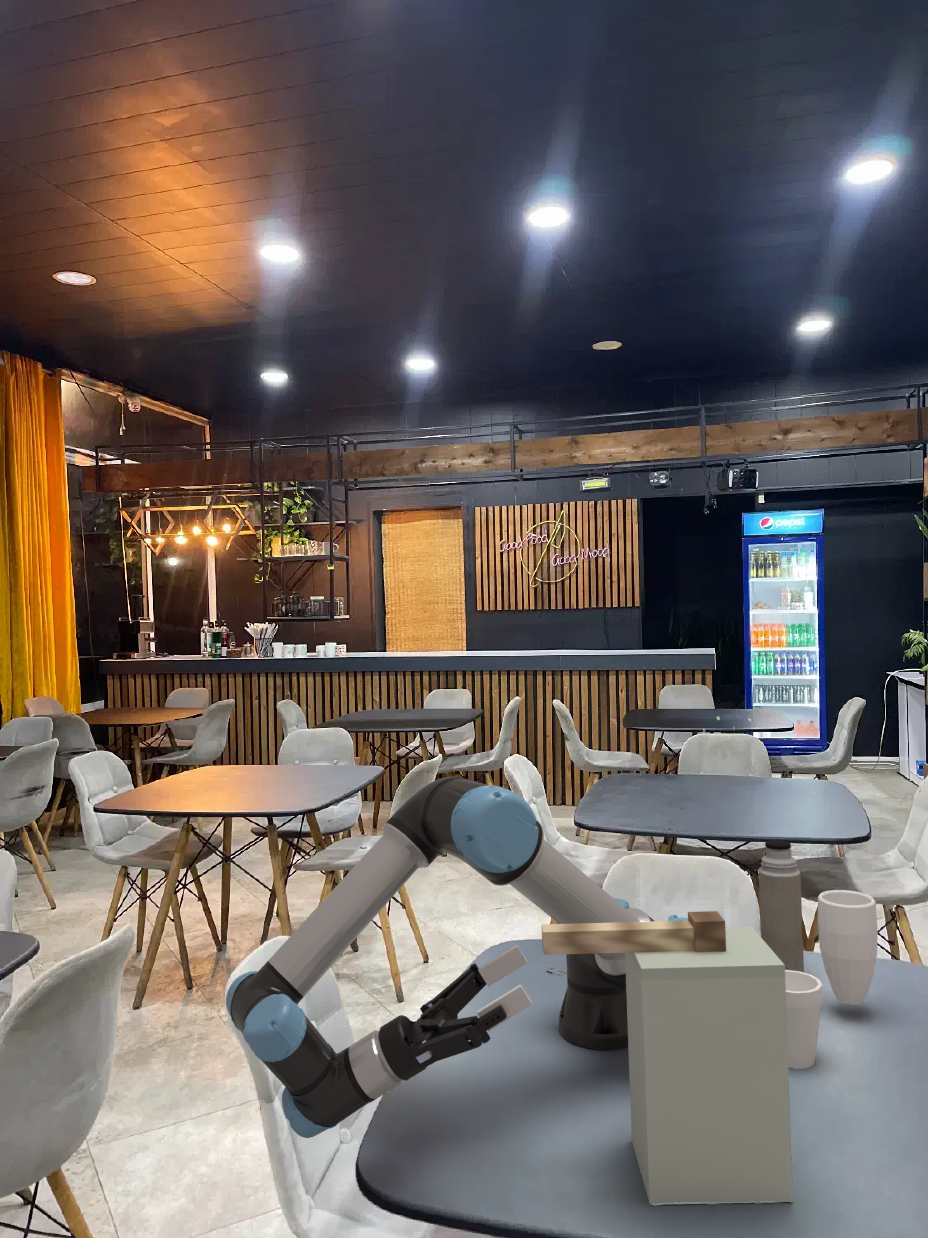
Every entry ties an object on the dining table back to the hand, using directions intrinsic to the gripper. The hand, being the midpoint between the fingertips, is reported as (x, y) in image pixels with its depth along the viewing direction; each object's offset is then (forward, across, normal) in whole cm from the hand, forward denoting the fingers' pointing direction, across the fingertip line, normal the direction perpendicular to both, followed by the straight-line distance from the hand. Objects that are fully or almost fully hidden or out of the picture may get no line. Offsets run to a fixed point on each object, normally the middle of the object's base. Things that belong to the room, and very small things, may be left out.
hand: (524, 972), depth 120 cm
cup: (+38, -45, -54) cm, 80 cm away
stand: (+7, 0, -35) cm, 36 cm away
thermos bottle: (+32, -60, -51) cm, 85 cm away
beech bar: (+14, 0, -5) cm, 15 cm away
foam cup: (+25, -29, -46) cm, 60 cm away
